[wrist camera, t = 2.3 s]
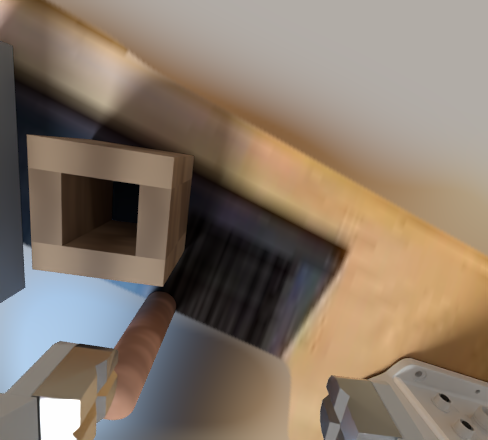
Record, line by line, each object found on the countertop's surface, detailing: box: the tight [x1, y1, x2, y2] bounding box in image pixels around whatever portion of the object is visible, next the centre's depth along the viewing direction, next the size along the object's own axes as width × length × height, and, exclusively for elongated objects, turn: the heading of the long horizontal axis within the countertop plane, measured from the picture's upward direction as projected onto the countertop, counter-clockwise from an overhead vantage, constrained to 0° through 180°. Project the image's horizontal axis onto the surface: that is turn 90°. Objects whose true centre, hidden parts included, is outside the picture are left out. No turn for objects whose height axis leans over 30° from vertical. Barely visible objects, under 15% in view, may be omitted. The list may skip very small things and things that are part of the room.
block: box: [27, 134, 194, 287], centre depth 24 cm, size 10×10×8 cm
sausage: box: [103, 291, 176, 420], centre depth 25 cm, size 4×4×12 cm
